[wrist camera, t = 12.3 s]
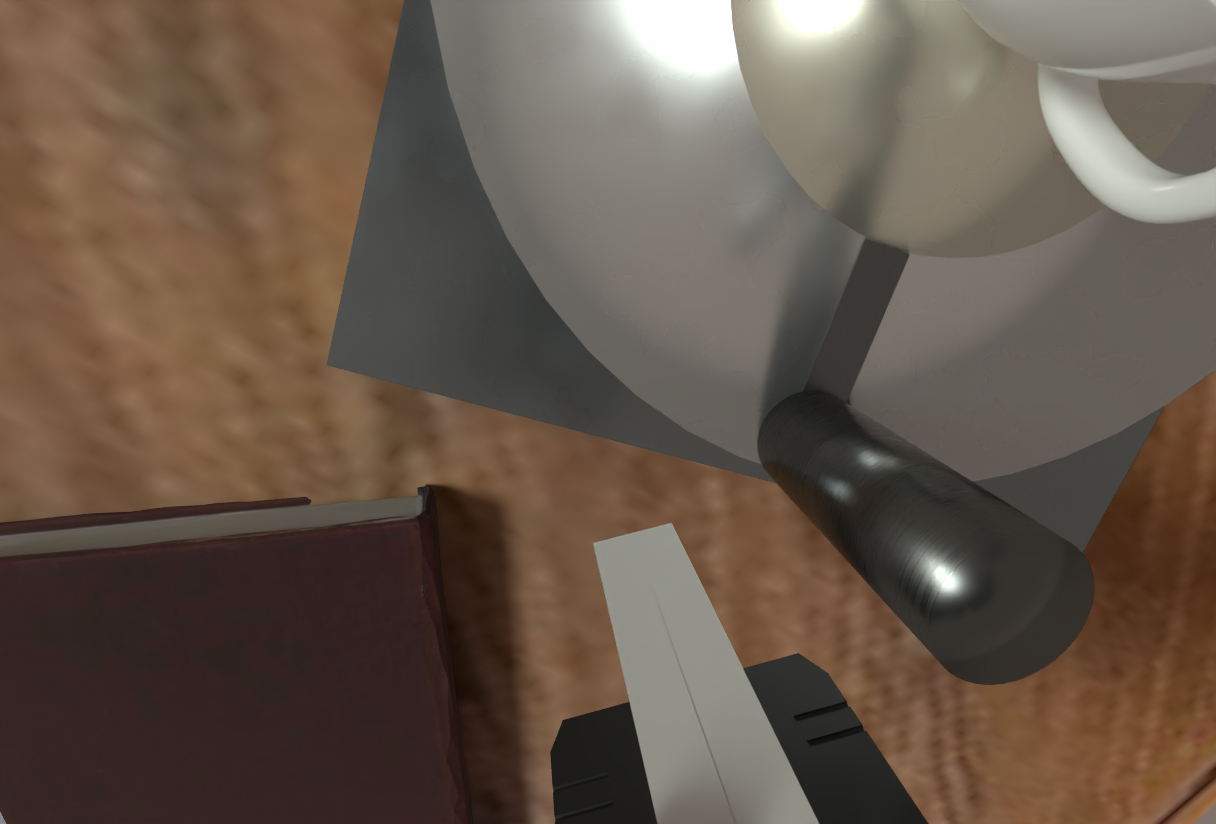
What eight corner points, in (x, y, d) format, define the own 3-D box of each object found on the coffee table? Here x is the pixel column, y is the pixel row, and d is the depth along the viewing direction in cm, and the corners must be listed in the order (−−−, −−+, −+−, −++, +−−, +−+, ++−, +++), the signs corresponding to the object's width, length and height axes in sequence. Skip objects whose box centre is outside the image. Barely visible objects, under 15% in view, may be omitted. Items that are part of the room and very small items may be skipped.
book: (443, 475, 20) (429, 525, 17) (496, 936, 26) (493, 1036, 23) (-15, 509, 19) (-121, 571, 16) (151, 988, 25) (98, 1101, 22)
